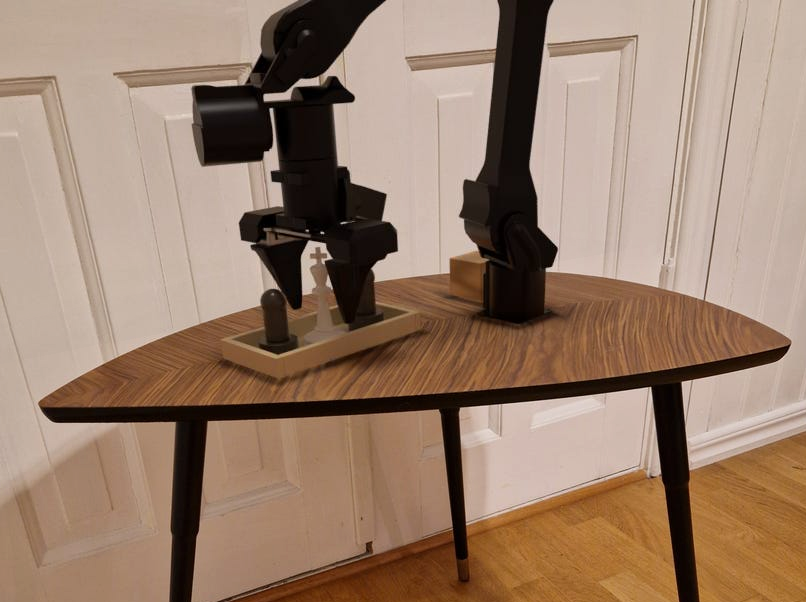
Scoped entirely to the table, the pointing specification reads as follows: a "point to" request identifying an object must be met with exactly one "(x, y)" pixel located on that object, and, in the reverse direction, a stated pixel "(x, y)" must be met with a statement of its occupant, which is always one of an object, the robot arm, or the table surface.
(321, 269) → the chess piece
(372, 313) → the pawn
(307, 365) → the tray
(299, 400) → the table surface
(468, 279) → the maple block
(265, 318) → the pawn
